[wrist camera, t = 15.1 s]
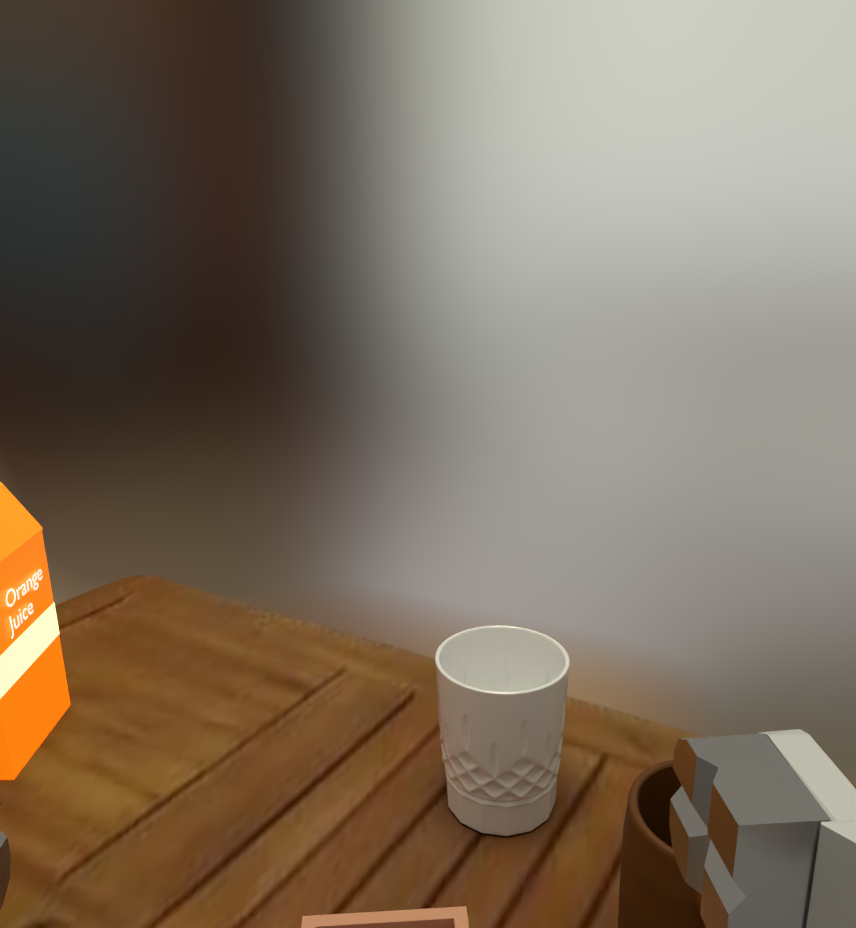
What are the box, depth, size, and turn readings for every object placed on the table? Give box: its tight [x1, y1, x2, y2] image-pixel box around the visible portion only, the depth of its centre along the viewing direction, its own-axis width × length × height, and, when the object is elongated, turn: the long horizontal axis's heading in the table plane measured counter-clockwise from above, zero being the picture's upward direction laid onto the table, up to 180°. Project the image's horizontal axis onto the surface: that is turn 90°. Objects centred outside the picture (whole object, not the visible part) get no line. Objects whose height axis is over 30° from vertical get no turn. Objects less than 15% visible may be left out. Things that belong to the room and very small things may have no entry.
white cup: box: [435, 625, 570, 836], centre depth 49 cm, size 8×8×10 cm
